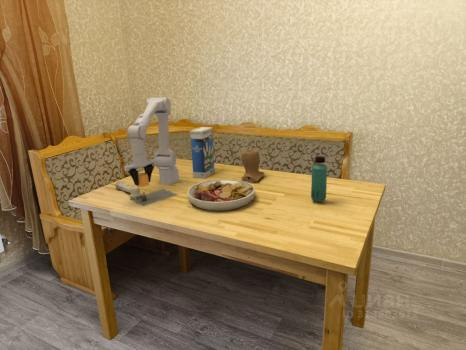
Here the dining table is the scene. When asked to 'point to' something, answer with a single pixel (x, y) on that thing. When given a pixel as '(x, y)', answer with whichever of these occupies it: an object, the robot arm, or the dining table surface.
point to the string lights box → (202, 152)
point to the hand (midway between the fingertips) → (142, 183)
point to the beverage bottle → (319, 180)
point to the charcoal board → (154, 197)
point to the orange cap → (143, 180)
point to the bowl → (221, 194)
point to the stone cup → (251, 166)
